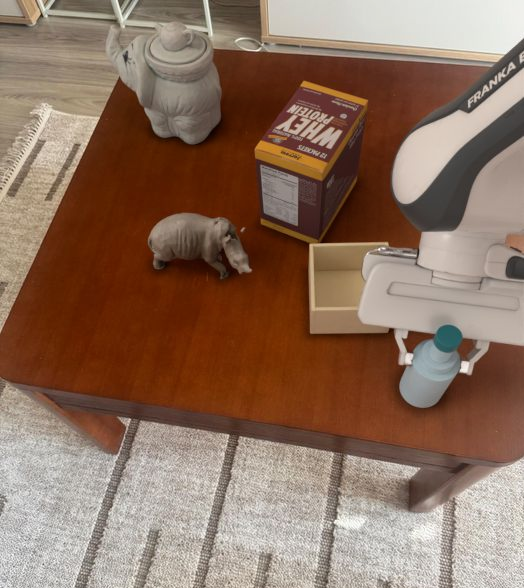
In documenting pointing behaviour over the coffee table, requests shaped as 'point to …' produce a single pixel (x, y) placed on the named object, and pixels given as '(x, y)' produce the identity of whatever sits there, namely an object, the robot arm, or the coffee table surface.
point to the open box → (338, 287)
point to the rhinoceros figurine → (198, 241)
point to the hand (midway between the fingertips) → (434, 368)
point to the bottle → (432, 368)
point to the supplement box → (310, 161)
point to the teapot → (171, 79)
